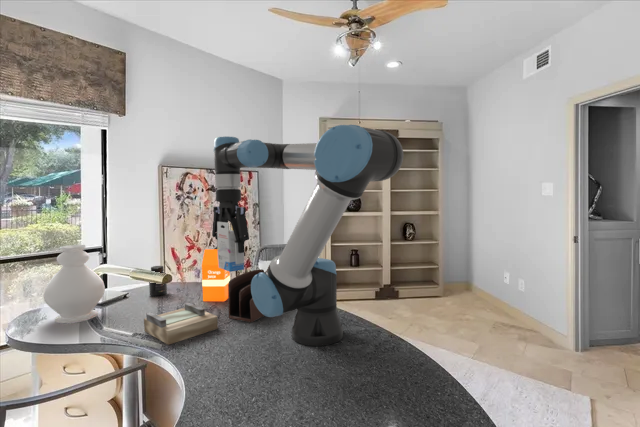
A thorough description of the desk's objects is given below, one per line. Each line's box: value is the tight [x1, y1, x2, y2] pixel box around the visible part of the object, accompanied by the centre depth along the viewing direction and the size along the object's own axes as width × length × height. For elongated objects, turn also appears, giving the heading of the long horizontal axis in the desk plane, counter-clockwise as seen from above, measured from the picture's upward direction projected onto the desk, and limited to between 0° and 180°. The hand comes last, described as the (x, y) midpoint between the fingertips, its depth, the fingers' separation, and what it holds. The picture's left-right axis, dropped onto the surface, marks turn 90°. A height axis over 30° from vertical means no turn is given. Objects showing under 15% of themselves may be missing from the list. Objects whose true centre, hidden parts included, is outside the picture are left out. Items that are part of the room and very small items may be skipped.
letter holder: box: [227, 269, 266, 323], centre depth 133 cm, size 10×20×14 cm, turn 152°
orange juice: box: [201, 248, 231, 302], centre depth 149 cm, size 8×9×20 cm
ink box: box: [217, 222, 245, 273], centre depth 115 cm, size 8×5×15 cm, turn 39°
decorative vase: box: [43, 244, 106, 325], centre depth 129 cm, size 18×18×25 cm
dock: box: [143, 302, 219, 346], centre depth 116 cm, size 16×16×6 cm
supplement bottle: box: [148, 265, 168, 298], centre depth 156 cm, size 7×7×12 cm
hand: (230, 261), depth 115 cm, fingers closed on ink box, 9 cm apart
